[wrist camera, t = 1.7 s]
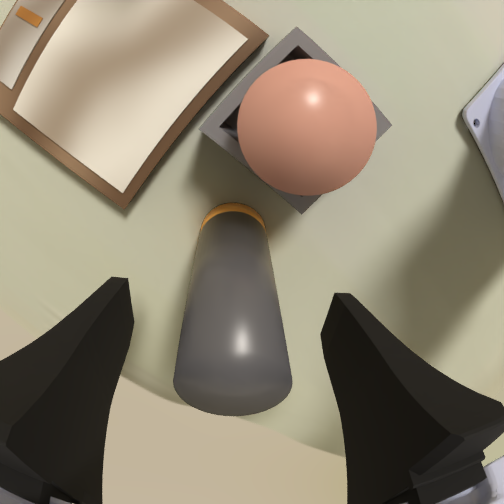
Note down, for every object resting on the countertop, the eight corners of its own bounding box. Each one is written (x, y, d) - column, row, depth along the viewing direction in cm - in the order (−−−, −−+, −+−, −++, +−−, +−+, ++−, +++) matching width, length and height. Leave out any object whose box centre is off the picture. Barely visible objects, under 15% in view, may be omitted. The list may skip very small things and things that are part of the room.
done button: (369, 119, 11) (400, 131, 9) (296, 193, 13) (309, 220, 10) (291, 41, 10) (307, 30, 7) (213, 123, 11) (206, 134, 9)
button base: (363, 115, 13) (392, 125, 10) (289, 188, 14) (301, 214, 12) (283, 38, 11) (296, 26, 8) (206, 119, 13) (198, 128, 10)
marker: (278, 229, 16) (316, 380, 8) (237, 270, 17) (239, 425, 9) (229, 189, 14) (222, 330, 7) (188, 236, 16) (152, 389, 8)
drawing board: (267, 38, 11) (269, 35, 10) (129, 203, 14) (123, 210, 14) (81, -69, 6) (73, -75, 6) (-20, 87, 10) (-31, 90, 9)
